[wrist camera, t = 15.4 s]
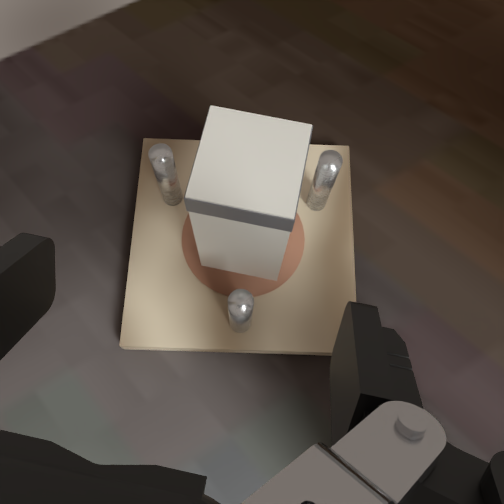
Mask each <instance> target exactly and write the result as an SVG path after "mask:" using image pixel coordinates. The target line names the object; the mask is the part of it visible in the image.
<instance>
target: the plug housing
mask: <svg viewBox="0 0 504 504" xmlns="http://www.w3.org/2000/svg"><path fill="white" fill-rule="evenodd" d="M312 130H313V125H311V124H306V123H300V122H295V121H290V120H285V119H280V118H274V117H269V116H264V115H259V114H254V113H248V112H243V111H238V110H233V109H228V108H222V107H217V106H212V105H211V106H210V107H209V110H208V114H207V117H206V121H205V125H204V128H203V132H202V135H201V139H200V142H199V146H198V149H197V153H196V156H195V160H194V164H193V167H192V171H191V174H190V178H189V181H188V185H187V188H186V192H185V196H184V202H185V206H186V210H187V211H188V212H189V216H190V220H191V224H192V228H193V233H194V237H195V241H196V245H197V249H198V253H199V257H200V262H201V265H202V266H206V267H211V268H216V269H221V270H226V271H231V272H235V273H240V274H245V275H250V276H255V277H260V278H264V279H269V280H274V281H277V278H278V275H279V271H280V268H281V264H282V260H283V257H284V253H285V250H286V246H287V242H288V239H289V235H290V232H292V229H293V226H294V222H295V218H296V213H297V207H298V202H299V197H300V192H301V187H302V181H303V176H304V171H305V166H306V161H307V156H308V150H309V145H310V140H311V135H312Z"/></svg>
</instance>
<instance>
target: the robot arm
mask: <svg viewBox="0 0 504 504" xmlns="http://www.w3.org/2000/svg"><path fill="white" fill-rule="evenodd" d="M55 290H56V284H55V246H54V242H53V240H52V239H50V238H46V237H42V236H37V235H32V234H27V233H21V234H19V235H17V236H16V237H14V238H13V239H12V240H10V241H9V242H7V243H6V244H4V245H3V246H0V360H1V359H2V358H3V357H4V356H5V355H6V354H7V353H8V352H9V351H10V350H11V349H12V348H13V347H14V345H15V344H16V343H17V342H18V341H19V340H20V339H21V338H22V337H23V336H24V335H25V334H26V333H27V332H28V331H29V330H30V329H31V328H32V327H33V326H34V325H35V324H36V323H37V322H38V320H39V319H40V318H41V317H42V316H43V315H44V314H45V313H46V312H47V311H48V310H49V308H50V307H51V305H52V302H53V300H54V296H55ZM330 399H331V433H332V447H331V448H328V447H327V446H326V445H324V444H323V443H321V442H319V443H316V444H314V445H313V446H311V447H310V448H309V449H307V450H306V451H305V452H304V453H303V454H301V455H300V456H299V457H298V458H296V459H295V460H294V461H293V462H291V463H290V464H289V465H288V466H287V467H285V468H284V469H283V470H282V471H280V472H279V473H278V474H277V475H275V476H274V477H273V478H272V479H271V480H269V481H268V482H267V483H266V484H264V485H263V486H262V487H261V488H259V489H258V490H257V491H256V492H254V493H253V494H252V495H251V496H250V497H248V498H247V499H246V500H245V501H243V502H242V503H241V504H504V451H501V452H498V453H496V454H495V455H494V456H493V457H492V459H491V461H490V463H488V462H485V461H483V460H481V459H479V458H477V457H475V456H472V455H470V454H468V453H466V452H464V451H462V450H460V449H458V448H456V447H454V446H453V445H451V444H449V443H448V442H447V441H446V435H445V432H444V430H443V428H442V426H441V425H440V423H439V422H438V421H437V420H436V419H435V418H434V417H433V416H432V415H431V414H429V413H428V412H427V411H425V410H424V409H423V406H422V402H421V399H420V395H419V391H418V388H417V384H416V380H415V377H414V373H413V371H412V366H411V362H410V360H409V355H408V351H407V347H406V344H405V342H404V341H403V340H402V338H401V337H400V336H399V335H398V334H397V332H396V331H395V330H394V329H390V328H385V327H381V322H380V317H379V312H378V308H377V307H376V306H371V305H366V304H362V303H357V302H352V301H348V303H347V305H346V307H345V310H344V314H343V317H342V320H341V324H340V327H339V330H338V334H337V337H336V341H335V344H334V347H333V351H332V356H331V362H330ZM206 479H207V476H202V475H198V474H193V473H189V472H184V471H180V470H176V469H171V468H167V467H162V466H158V465H98V464H95V463H92V462H90V461H88V460H86V459H84V458H82V457H81V456H79V455H77V454H75V453H73V452H71V451H69V450H67V449H65V448H63V447H61V446H59V445H57V444H55V443H53V442H51V441H48V440H43V439H39V438H34V437H30V436H25V435H21V434H17V433H12V432H8V431H3V430H1V431H0V504H220V503H218V502H217V501H215V500H214V499H212V498H211V497H209V496H207V495H205V494H204V490H205V485H206Z"/></svg>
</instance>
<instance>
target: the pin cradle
mask: <svg viewBox="0 0 504 504" xmlns="http://www.w3.org/2000/svg"><path fill="white" fill-rule="evenodd" d="M199 142H200V140H178V139H152V138H144V140H143V148H142V157H141V165H140V174H139V182H138V191H137V200H136V208H135V217H134V225H133V234H132V242H131V251H130V259H129V268H128V277H127V285H126V294H125V302H124V311H123V319H122V328H121V336H120V345H119V346H120V347H122V348H123V349H136V350H169V351H202V352H234V353H267V354H300V355H332V351H333V347H334V344H335V341H336V337H337V334H338V330H339V327H340V324H341V320H342V317H343V314H344V310H345V307H346V305H347V303H348V301H352V302H356V288H355V266H354V244H353V222H352V200H351V179H350V157H349V146H337V145H311V144H310V145H309V150H308V156H307V161H306V166H305V171H304V176H303V181H302V187H301V192H300V197H299V202H298V207H297V213H296V218H295V222H294V226H293V229H292V232H290V235H289V239H288V242H287V246H286V250H285V253H284V257H283V260H282V264H281V268H280V271H279V275H278V278H277V281H274V280H269V279H264V278H260V277H255V276H250V275H245V274H240V273H235V272H231V271H226V270H221V269H216V268H211V267H206V266H202V265H201V262H200V257H199V253H198V249H197V245H196V241H195V237H194V233H193V228H192V224H191V220H190V216H189V212H188V211H187V210H186V206H185V202H184V196H185V192H186V188H187V185H188V181H189V178H190V174H191V171H192V167H193V164H194V160H195V156H196V153H197V149H198V146H199Z"/></svg>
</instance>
